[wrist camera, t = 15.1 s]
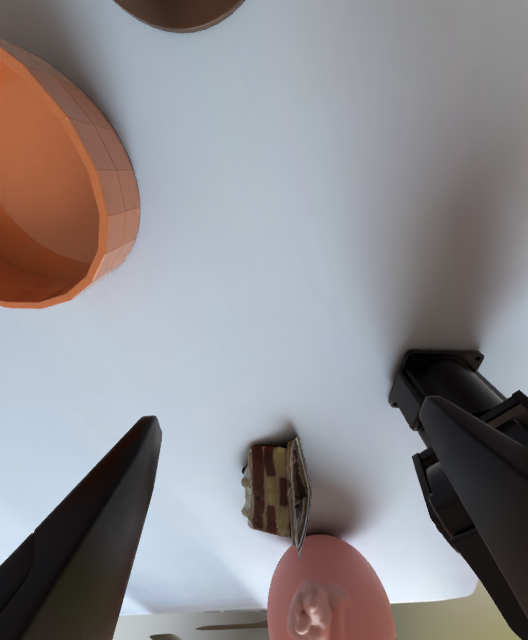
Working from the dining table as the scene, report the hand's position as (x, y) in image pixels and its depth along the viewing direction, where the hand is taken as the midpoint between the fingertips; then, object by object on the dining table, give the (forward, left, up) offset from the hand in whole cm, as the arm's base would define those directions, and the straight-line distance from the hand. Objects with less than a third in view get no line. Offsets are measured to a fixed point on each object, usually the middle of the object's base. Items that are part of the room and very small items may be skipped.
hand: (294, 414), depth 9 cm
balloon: (-8, +39, -13) cm, 42 cm away
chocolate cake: (-1, +23, -13) cm, 26 cm away
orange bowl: (+15, -6, -12) cm, 21 cm away
